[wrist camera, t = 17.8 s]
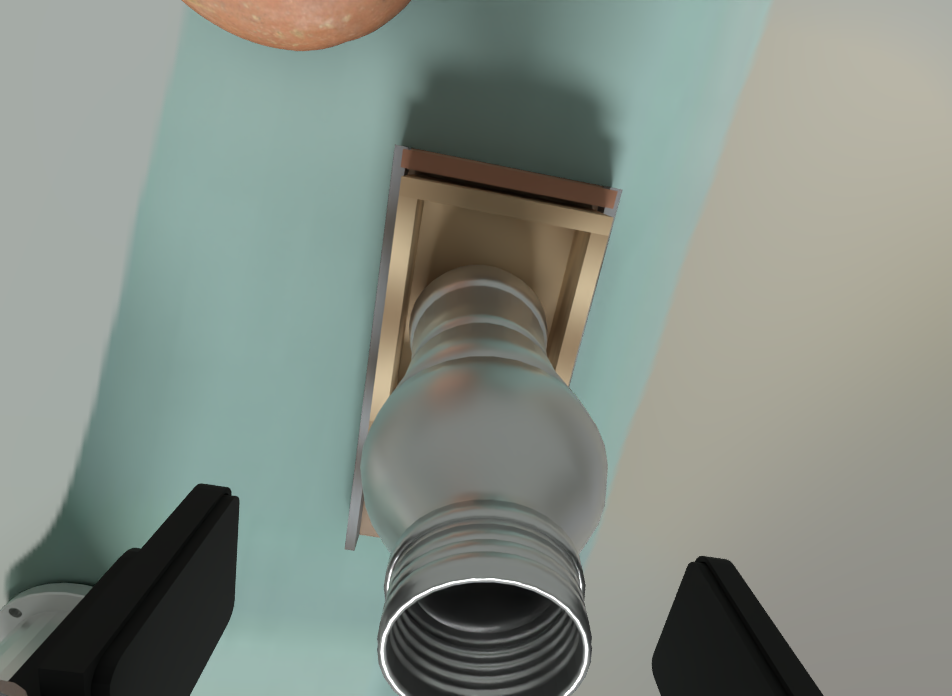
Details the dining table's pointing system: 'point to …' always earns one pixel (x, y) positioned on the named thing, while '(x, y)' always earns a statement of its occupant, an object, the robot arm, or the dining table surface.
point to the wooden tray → (403, 164)
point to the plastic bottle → (483, 499)
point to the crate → (489, 262)
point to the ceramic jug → (298, 20)
